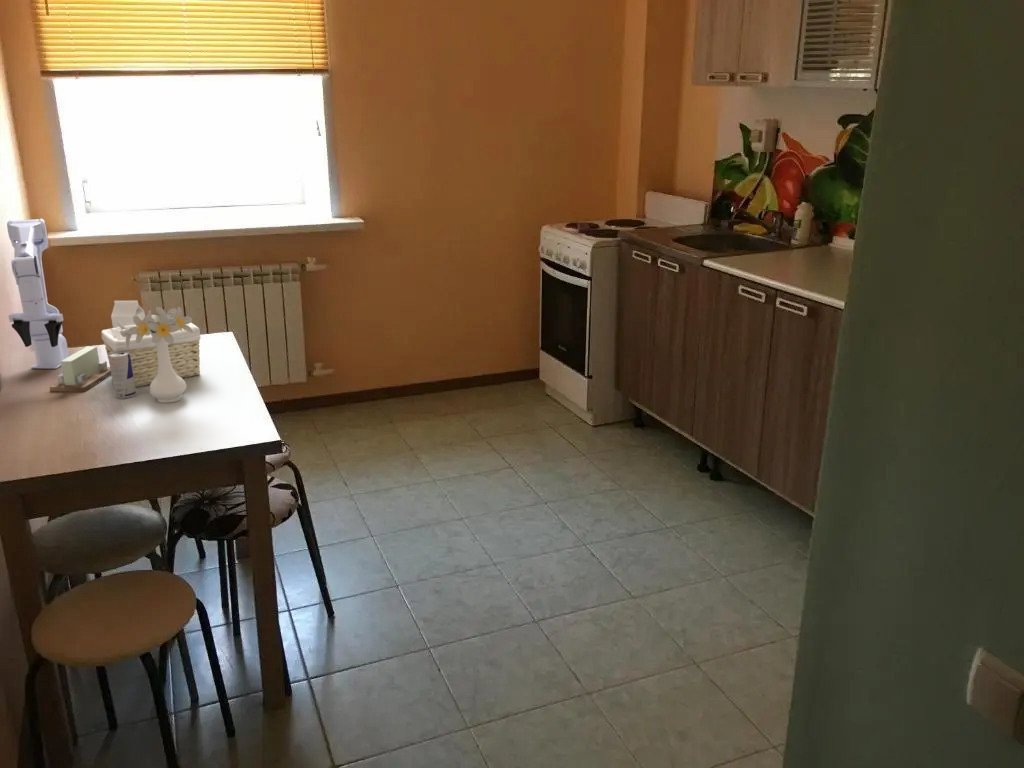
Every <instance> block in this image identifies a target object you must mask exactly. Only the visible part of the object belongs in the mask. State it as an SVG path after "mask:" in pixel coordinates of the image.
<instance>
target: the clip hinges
mask: <svg viewBox="0 0 1024 768" xmlns="http://www.w3.org/2000/svg"><path fill="white" fill-rule="evenodd" d="M98 365H99V371H100V372H104V371H106V370H107V369H108V368H107V367H108V364H107V361H106V360H102V361H99V363H98ZM56 378H57V382H58V384H59V385H63V384H65V382H64V377H63V373H60V374H59V375H57V376H56ZM77 378H78V383H79V385H84V384H85V383H87V377H86V374H81V375H79V376H77Z"/></svg>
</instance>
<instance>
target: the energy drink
mask: <svg viewBox="0 0 1024 768" xmlns="http://www.w3.org/2000/svg"><path fill="white" fill-rule="evenodd" d="M108 364H109V367H110V370H111V375H110V376H111V382H112V387H113V393H114V397H115V398H116V399H120V400H126V399H130V398H133V397H135V396H136V395H137V391H136V389H137V388H136V387H135V383H134V377H133V371H132V365H131V358H130V355H129V352H126V351H120V352H114V353H111V354H109V360H108Z"/></svg>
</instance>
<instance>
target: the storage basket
mask: <svg viewBox="0 0 1024 768" xmlns="http://www.w3.org/2000/svg"><path fill="white" fill-rule="evenodd" d="M186 325H188V326H189V327H190V328H191V329H192V331H193V333H190V332H188V331H186V330H185V329H183V330H182V331H180V330H178V331H176V332H173V333H170V334H171V335H172V337H173V340H174V342H173V343H172V344H169V343H168V350H169V356H170V361H171V365H172V368H173V369H174V371H175V373H176V374H177V375H178V376H180V377H181V378H182V379H183V378H189V377H193V376H199V375H200V374H201V369H200V368H201V367H200V366H201V365H200V362H201V361H200V340H201V330H200V328H199V327H198V326H197V325H196V324H194V323H192V322H191V323H189V324H186ZM124 327H126V328H127V329H130V328H132V327H138V326H136V325H129V326H124ZM120 330H122V329H121V327H116V328H113V327H112V328H107V329H102V330H101V339H102V341H103V344H104V345H105V350H106V355H107V359H108V361H109V354H111V353H114V352H120V351H126V352H129V355H130V358H131V365H132V371H133V377H134V383H135V388H137V387H143V386H147V385H148V386H149V385H150V384H151V382H152V381H153V379H154V378H155V377H156V375H157V371H158V359H157V350H156V345H155V343H153V342H152V335H151V333H150V335H144V336H143V338H142V340H141V341H140V342H139V343H136V336H137V335H136V334H134V335H131V338H130V341H129V346H128V348H127V345H126V337H123V336H122V335H121V333H120Z"/></svg>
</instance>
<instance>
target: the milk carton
mask: <svg viewBox="0 0 1024 768" xmlns="http://www.w3.org/2000/svg"><path fill="white" fill-rule="evenodd" d="M138 301H139V300H113V302H114V305H113V309H112V312H111V315H110V318H111V323H112V328H116V327H120V326H119V325H118V323H117V321H118V322H119V323H120V324H122V325H123V326H129V325H135V323H134V321H133V317H134V316H135V315H136V316H138V317H139V318H140V319H141V321H142V320H143V319H144V317H145V316H146V314H145V313H146V312H145V310H144V308H142V307H141V306H140V305H139V302H138Z"/></svg>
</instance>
